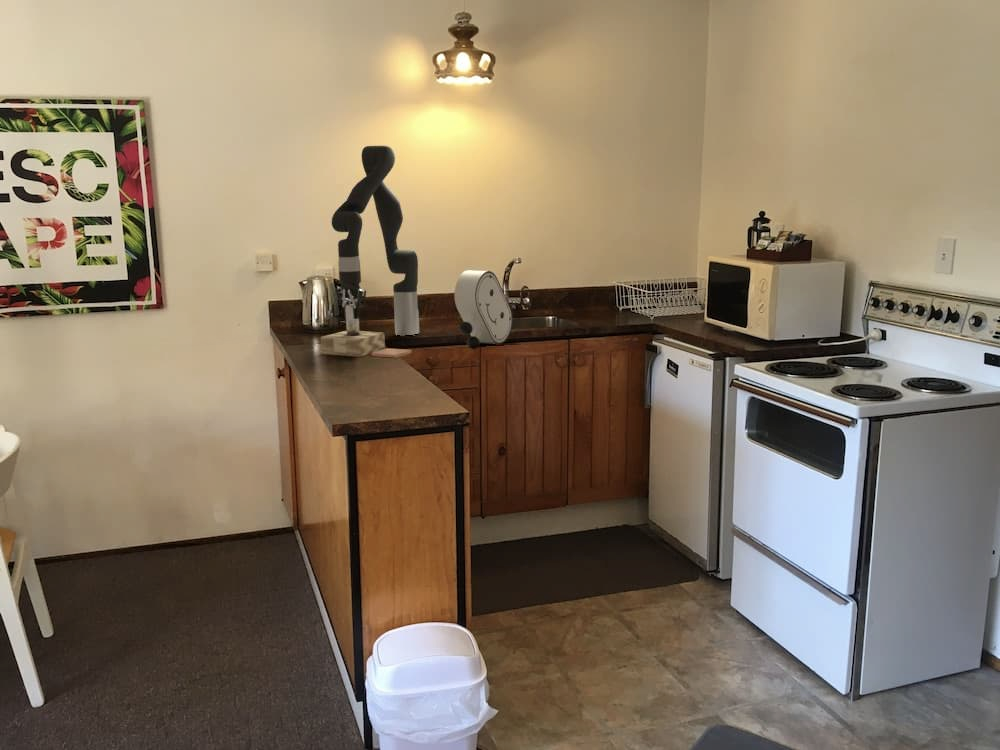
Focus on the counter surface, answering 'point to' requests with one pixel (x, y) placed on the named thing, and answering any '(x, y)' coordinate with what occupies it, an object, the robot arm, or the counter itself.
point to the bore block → (352, 343)
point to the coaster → (391, 353)
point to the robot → (482, 308)
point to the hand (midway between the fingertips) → (352, 317)
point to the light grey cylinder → (351, 321)
